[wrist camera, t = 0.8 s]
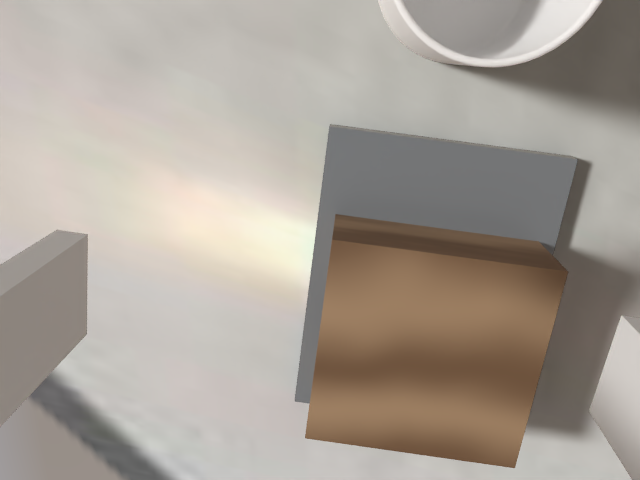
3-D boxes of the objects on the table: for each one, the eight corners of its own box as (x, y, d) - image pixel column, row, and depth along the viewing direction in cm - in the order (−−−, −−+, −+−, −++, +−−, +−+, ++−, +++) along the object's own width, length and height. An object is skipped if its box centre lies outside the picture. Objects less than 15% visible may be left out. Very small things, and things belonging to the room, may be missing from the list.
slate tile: (330, 124, 34) (329, 126, 33) (570, 155, 34) (577, 159, 33) (296, 391, 40) (294, 401, 38) (502, 420, 39) (506, 431, 38)
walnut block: (335, 214, 34) (332, 239, 30) (538, 241, 34) (568, 271, 29) (311, 390, 38) (304, 438, 33) (494, 416, 38) (514, 468, 33)
